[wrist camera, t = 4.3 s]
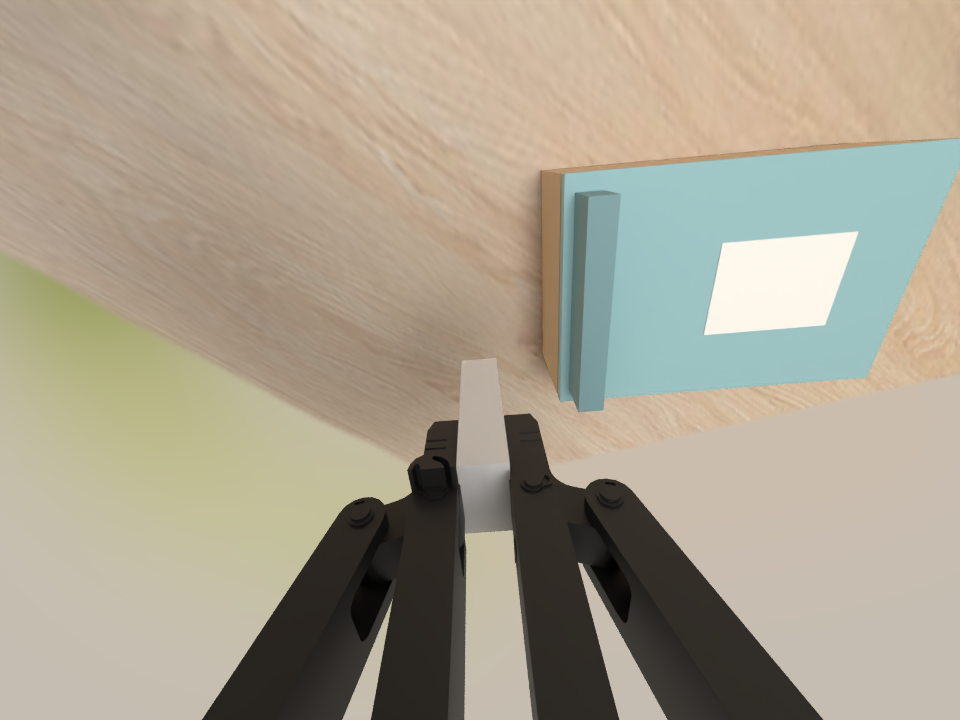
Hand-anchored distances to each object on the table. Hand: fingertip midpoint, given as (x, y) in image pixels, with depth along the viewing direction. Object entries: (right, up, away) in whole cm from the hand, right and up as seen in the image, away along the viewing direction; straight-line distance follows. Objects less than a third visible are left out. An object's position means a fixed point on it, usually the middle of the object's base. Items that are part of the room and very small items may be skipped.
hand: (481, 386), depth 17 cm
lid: (+16, +6, +8) cm, 19 cm away
